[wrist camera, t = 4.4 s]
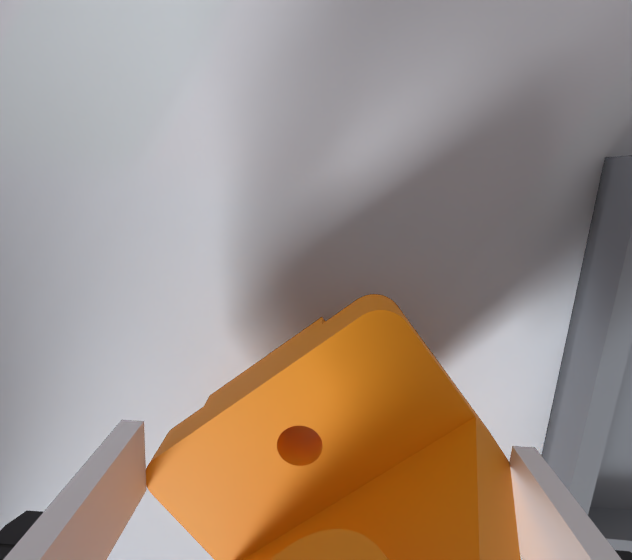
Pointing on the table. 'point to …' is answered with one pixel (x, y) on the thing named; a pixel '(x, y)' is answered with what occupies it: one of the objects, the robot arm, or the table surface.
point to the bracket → (340, 454)
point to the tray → (600, 369)
